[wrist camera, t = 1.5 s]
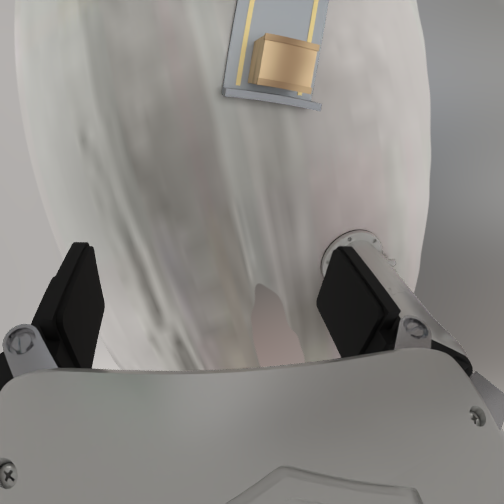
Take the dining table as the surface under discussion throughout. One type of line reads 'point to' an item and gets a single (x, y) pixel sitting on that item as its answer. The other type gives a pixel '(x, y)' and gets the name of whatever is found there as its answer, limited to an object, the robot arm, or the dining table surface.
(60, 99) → the dining table surface
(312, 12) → the bay
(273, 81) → the block
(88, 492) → the robot arm
